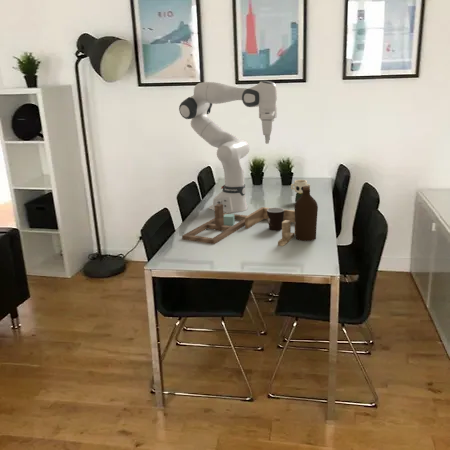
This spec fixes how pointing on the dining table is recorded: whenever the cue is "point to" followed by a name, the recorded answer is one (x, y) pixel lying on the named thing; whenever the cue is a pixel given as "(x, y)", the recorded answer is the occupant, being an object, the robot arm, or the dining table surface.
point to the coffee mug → (275, 218)
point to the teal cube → (229, 219)
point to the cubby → (266, 217)
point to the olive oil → (306, 216)
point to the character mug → (299, 187)
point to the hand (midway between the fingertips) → (267, 141)
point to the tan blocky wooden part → (286, 233)
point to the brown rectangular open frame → (215, 227)
